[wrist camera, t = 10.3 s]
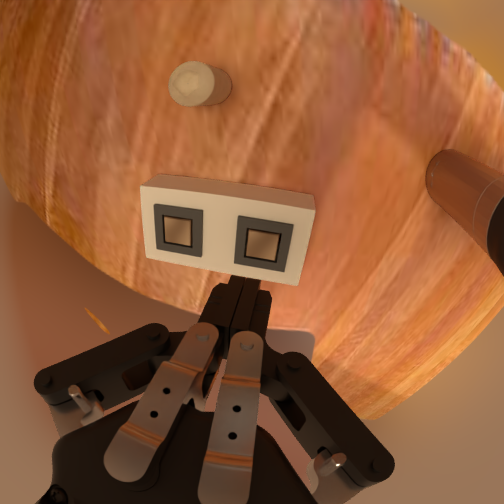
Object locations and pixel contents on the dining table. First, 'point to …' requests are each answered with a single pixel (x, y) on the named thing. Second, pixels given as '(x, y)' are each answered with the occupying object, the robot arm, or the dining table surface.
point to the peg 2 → (262, 244)
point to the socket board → (227, 225)
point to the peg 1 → (178, 230)
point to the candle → (199, 84)
